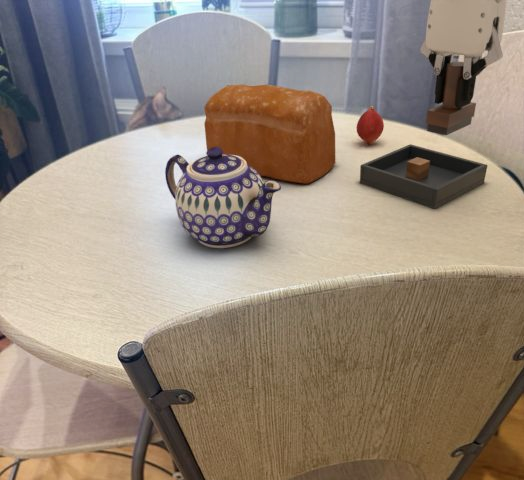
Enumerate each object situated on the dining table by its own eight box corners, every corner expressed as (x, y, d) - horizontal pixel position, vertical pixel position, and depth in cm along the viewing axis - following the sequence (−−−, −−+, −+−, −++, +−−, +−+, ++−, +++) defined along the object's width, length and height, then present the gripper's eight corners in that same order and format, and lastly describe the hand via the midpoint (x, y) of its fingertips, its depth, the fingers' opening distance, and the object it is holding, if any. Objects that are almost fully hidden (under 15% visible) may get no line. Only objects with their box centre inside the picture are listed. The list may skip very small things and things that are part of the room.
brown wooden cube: (428, 176, 101) (430, 160, 99) (418, 181, 100) (419, 165, 98) (415, 172, 103) (417, 156, 101) (405, 177, 101) (406, 161, 100)
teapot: (146, 232, 94) (126, 148, 85) (208, 201, 102) (195, 121, 93) (249, 275, 80) (238, 180, 71) (310, 236, 88) (308, 146, 79)
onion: (354, 148, 118) (355, 110, 113) (358, 139, 122) (359, 102, 117) (380, 148, 117) (383, 110, 112) (383, 139, 121) (386, 102, 116)
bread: (240, 147, 124) (233, 74, 114) (340, 164, 112) (342, 82, 102) (203, 168, 116) (191, 91, 106) (307, 188, 103) (304, 103, 93)
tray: (484, 183, 99) (487, 164, 97) (434, 209, 92) (437, 189, 90) (408, 161, 110) (410, 144, 108) (359, 182, 103) (360, 165, 101)
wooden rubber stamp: (451, 119, 88) (459, 57, 82) (472, 124, 85) (483, 60, 80) (425, 131, 85) (432, 67, 79) (446, 136, 82) (455, 70, 76)
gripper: (546, -47, 68) (514, 105, 79) (437, -45, 78) (423, 90, 90) (514, -40, 64) (486, 119, 76) (404, -39, 74) (394, 101, 86)
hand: (452, 102), depth 83 cm, fingers closed on wooden rubber stamp, 3 cm apart
